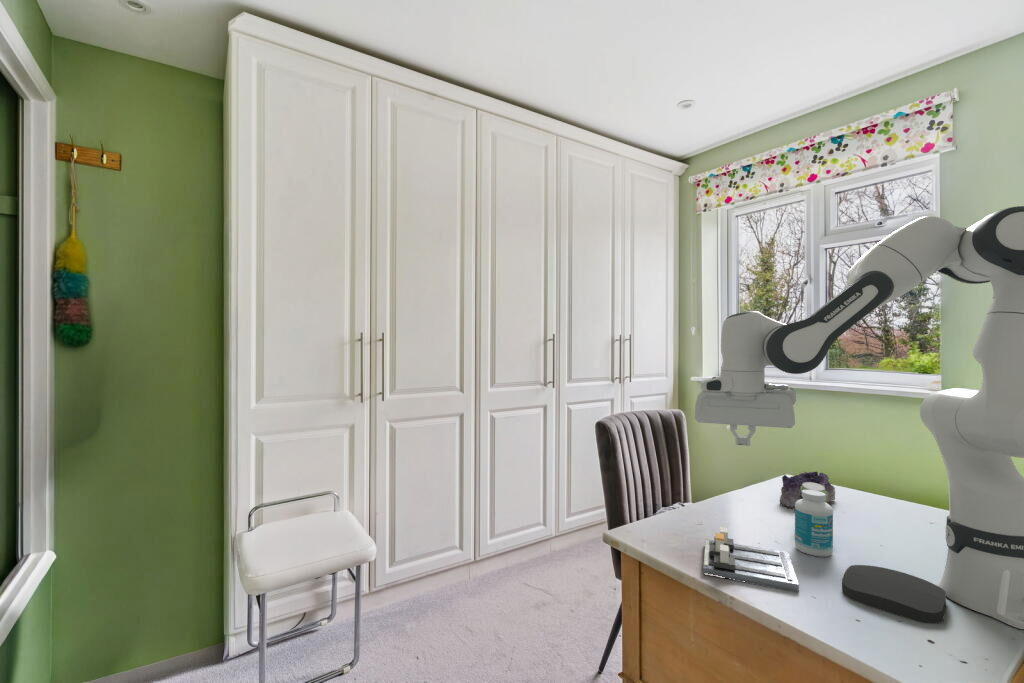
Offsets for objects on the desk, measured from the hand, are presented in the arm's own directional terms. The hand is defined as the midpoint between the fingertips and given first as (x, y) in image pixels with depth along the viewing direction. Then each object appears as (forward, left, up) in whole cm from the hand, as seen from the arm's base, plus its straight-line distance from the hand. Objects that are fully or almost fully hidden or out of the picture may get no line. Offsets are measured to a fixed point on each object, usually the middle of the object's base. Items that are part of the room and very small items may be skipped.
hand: (742, 444), depth 105 cm
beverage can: (-17, -24, -25) cm, 39 cm away
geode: (-19, -49, -26) cm, 58 cm away
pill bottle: (-15, -10, -25) cm, 31 cm away
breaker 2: (+4, +10, -23) cm, 26 cm away
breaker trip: (+5, +5, -23) cm, 24 cm away
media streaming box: (-25, +7, -26) cm, 37 cm away
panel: (-1, +5, -25) cm, 26 cm away
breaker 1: (+4, -1, -23) cm, 24 cm away
